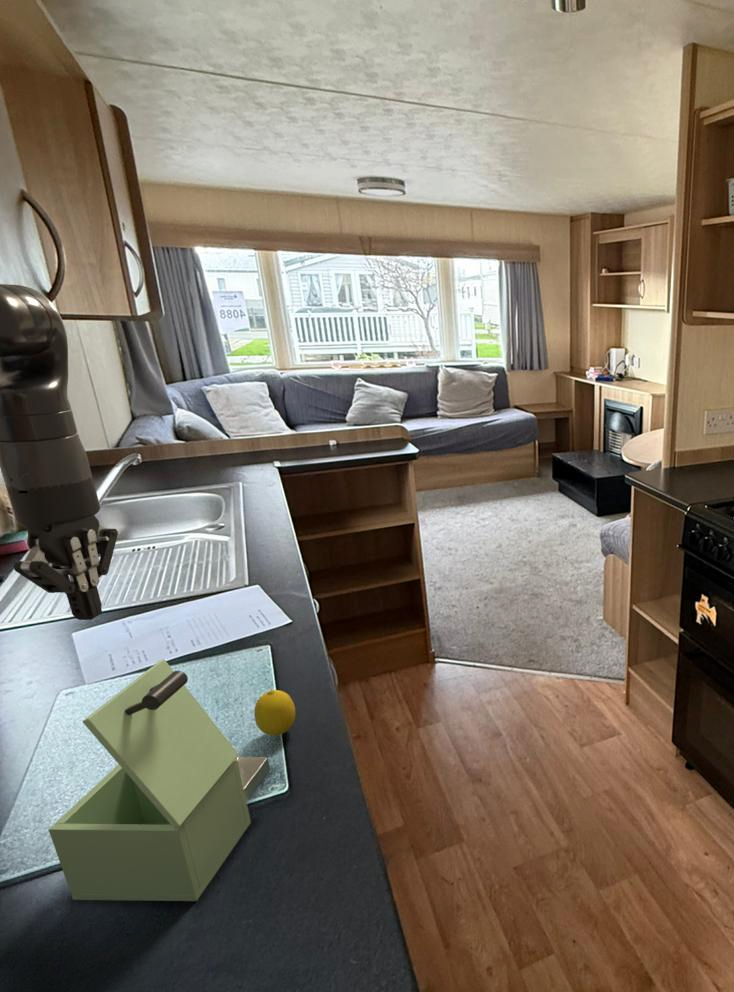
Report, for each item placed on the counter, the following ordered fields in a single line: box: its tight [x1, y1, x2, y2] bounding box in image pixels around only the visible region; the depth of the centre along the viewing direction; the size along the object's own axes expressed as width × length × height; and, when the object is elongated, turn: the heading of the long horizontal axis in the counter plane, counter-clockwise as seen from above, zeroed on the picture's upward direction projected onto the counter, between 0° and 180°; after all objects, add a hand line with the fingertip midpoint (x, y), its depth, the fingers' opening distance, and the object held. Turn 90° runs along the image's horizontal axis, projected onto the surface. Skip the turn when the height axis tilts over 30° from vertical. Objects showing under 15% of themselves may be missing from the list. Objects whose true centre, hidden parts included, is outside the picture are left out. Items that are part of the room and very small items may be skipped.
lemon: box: [254, 689, 296, 737], centre depth 99 cm, size 6×6×8 cm
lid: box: [82, 658, 239, 828], centre depth 71 cm, size 15×12×5 cm
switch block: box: [235, 755, 271, 803], centre depth 88 cm, size 11×8×4 cm
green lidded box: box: [48, 759, 252, 902], centre depth 76 cm, size 14×12×10 cm
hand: (89, 617), depth 78 cm, fingers closed
